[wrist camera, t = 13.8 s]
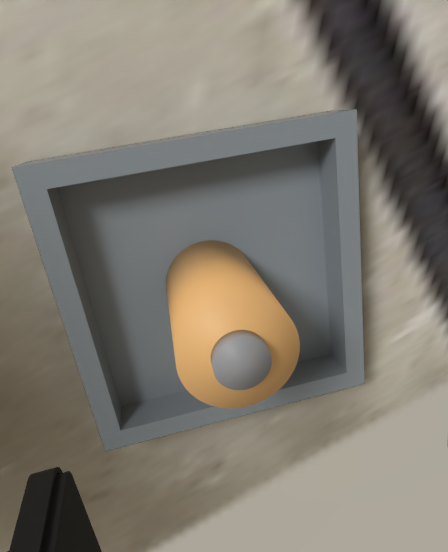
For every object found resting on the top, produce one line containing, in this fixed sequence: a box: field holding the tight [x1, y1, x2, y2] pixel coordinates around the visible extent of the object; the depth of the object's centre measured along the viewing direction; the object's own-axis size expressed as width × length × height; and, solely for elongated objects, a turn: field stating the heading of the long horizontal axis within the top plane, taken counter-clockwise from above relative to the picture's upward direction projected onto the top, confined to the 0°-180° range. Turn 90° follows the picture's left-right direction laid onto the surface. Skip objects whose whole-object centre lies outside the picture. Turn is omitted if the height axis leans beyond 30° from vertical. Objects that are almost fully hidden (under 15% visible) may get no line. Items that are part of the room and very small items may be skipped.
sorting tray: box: [12, 109, 365, 451], centre depth 20 cm, size 14×14×2 cm
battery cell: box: [166, 240, 300, 408], centre depth 18 cm, size 4×4×8 cm
